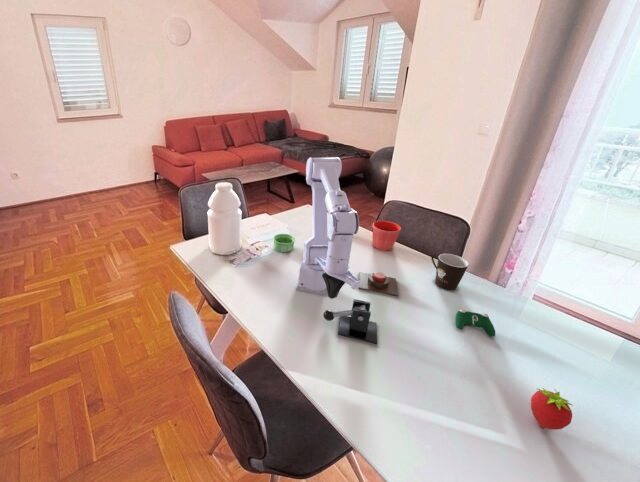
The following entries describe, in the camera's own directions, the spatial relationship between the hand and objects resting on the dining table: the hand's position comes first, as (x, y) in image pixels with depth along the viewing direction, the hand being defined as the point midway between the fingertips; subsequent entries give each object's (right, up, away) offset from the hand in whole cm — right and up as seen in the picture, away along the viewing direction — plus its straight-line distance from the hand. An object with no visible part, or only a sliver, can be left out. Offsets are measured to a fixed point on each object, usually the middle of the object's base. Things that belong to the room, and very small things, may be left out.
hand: (332, 296), depth 87 cm
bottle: (-32, +9, +46) cm, 57 cm away
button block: (+22, -1, +21) cm, 30 cm away
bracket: (+7, -10, +1) cm, 13 cm away
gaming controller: (+41, -10, +2) cm, 42 cm away
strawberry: (+36, -21, -23) cm, 48 cm away
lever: (+4, -6, +1) cm, 7 cm away
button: (+22, +1, +20) cm, 29 cm away
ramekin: (-7, +9, +45) cm, 46 cm away
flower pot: (+35, +10, +46) cm, 59 cm away
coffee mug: (+46, -1, +22) cm, 51 cm away
